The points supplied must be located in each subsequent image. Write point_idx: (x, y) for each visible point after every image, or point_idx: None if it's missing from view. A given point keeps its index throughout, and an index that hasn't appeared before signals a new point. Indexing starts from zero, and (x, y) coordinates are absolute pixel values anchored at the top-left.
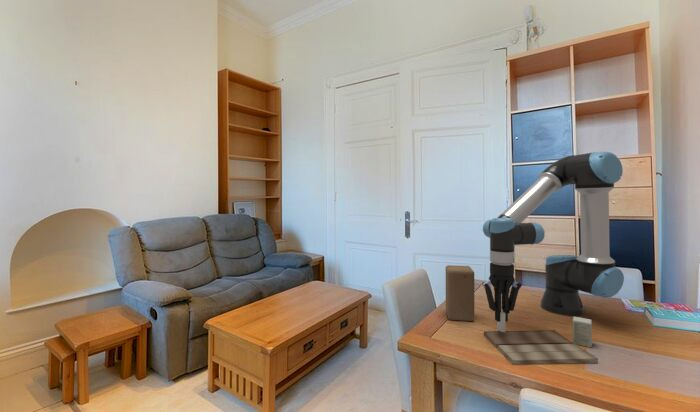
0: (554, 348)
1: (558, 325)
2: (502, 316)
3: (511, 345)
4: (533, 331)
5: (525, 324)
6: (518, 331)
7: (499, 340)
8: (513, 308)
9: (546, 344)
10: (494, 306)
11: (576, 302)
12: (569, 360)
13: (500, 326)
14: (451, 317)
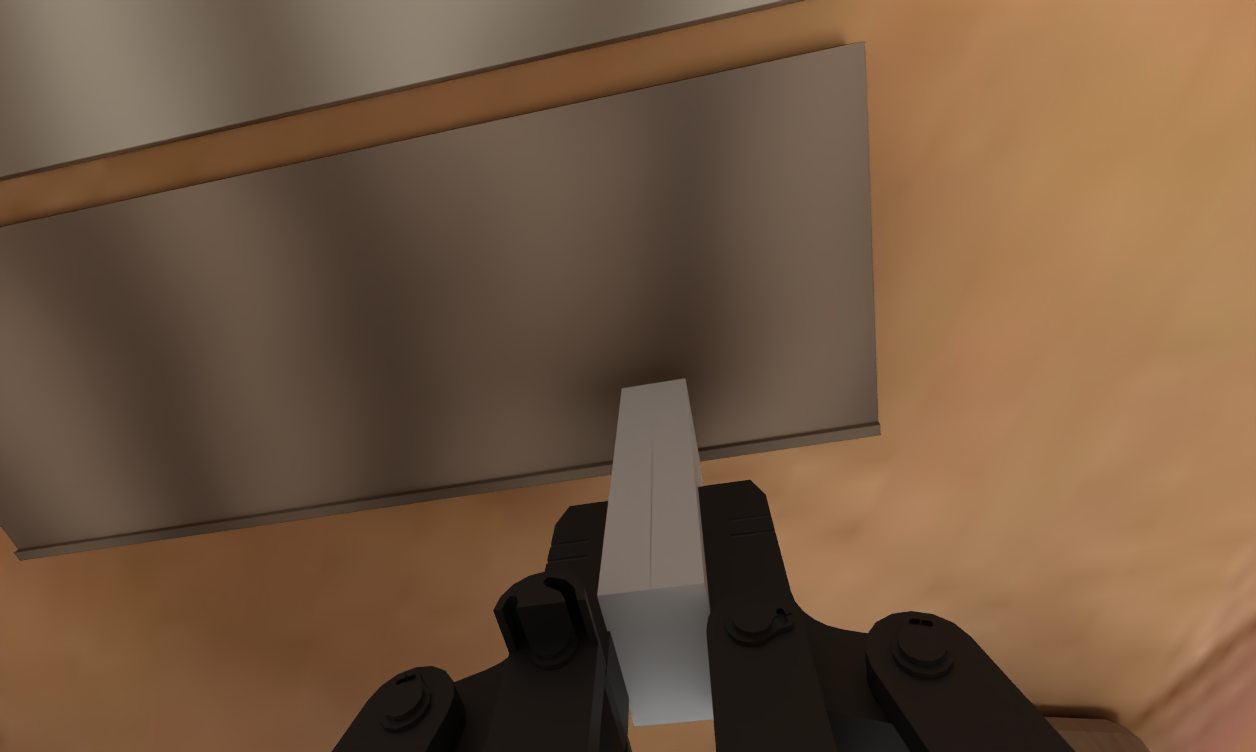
0: (21, 12)
1: (16, 698)
2: (668, 535)
3: (639, 16)
4: (252, 509)
5: (321, 692)
6: (428, 488)
7: (764, 183)
8: (362, 728)
9: (126, 144)
10: (948, 739)
11: None
12: None
13: (691, 432)
14: (1118, 742)
